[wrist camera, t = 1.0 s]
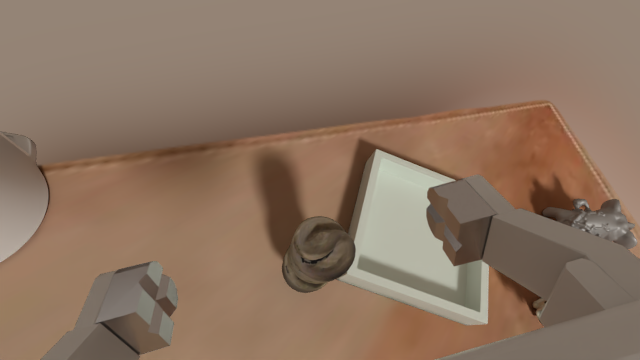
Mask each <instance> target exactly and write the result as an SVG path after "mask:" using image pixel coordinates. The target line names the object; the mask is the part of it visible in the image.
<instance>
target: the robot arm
mask: <svg viewBox="0 0 640 360" xmlns="http://www.w3.org/2000/svg"><path fill="white" fill-rule="evenodd" d="M48 197H49V196H48V187H47V183H46V181H45V178H44V176H43V175H42V173H41V172H40V170H39V168H38V166H37V164H36V146H35V143H34V142H33V141H32V140H30V139H29V138H28V137H25V136H22V135H17V134H12V133H6V132H1V131H0V262H2V261H3V260H5V259H6V258H8V257H9V256H11V255H12V254H13V253H15V252H16V251H17V250H18V249H20V248H21V247H22V246H23V245H24V244H25V243H26V242H27V241H28V240H29V239H30V238H31V236H32V235H33V234H34V233H35V231H36V230H37V229H38V227H39V225H40V224H41V222H42V220H43V218H44V215H45V213H46V210H47V206H48ZM427 199H428V200H429V201H430V205H429V206H428V207H427V208H426V217H427V221H428V225H429V228H430V230H431V232H432V233H433V235H434V237H435V238H437V239H439V240H441V241H443V248H442V249H443V251H444V252H445V254H446V255H447V257H448V258H449V260H450V261H451V263H452V264H453V266H458V265H462V264H466V263H470V262H474V261H478V260H482V261H483V262H484V263H486V264H488V265H489V266H491V267H493V268H494V269H496V270H497V271H499V272H501V273H502V274H504V275H506V276H507V277H509V278H510V279H512V280H514V281H515V282H517V283H518V284H520V285H522V286H523V287H525V288H527V289H528V290H530V291H531V292H533V293H535V294H536V295H538V296H540V297H541V298H543V299H544V300H546V301H547V302H546V304H545V306H544V308H543V310H542V312H541V314H540V317H539V321H540V322H541V323H542V324H543V326H544V328H541V329H538V330H534V331H531V332H527V333H524V334H521V335H517V336H514V337H510V338H507V339H503V340H500V341H497V342H493V343H490V344H486V345H483V346H480V347H476V348H473V349H469V350H466V351H462V352H459V353H456V354H452V355H449V356H445V357H442V358H439V359H435V360H640V259H639V258H637V257H636V256H635V255H634V254H632V253H631V252H630V251H629V250H628V249H626V248H625V247H624V246H623V245H620V244H617V243H614V242H612V241H609V240H606V239H603V238H601V237H598V236H595V235H593V234H590V233H587V232H584V231H582V230H579V229H576V228H573V227H571V226H568V225H565V224H562V223H560V222H557V221H554V220H551V219H549V218H546V217H543V216H541V215H538V214H535V213H532V212H530V211H527V210H524V209H517V210H516V209H515V208H514V207H513V206H512V205H511V204H510V203H509V202H508V201H507V200H506V199H505V198H504V197H503V196H502V195H501V194H500V193H499V192H498V191H497V190H496V189H495V188H494V187H493V186H492V185H490V184H489V183H488V182H487V181H486V180H485V179H484V178H483V177H482V176H481V175H474V176H470V177H467V178H463V179H461V180H456V181H452V182H449V183H445V184H441V185H438V186H434V187H430V188H429V189H428V191H427ZM162 270H163V268H162V266H161V265H160V264H159V263H158V262H157V261H152V262H148V263H144V264H139V265H135V266H131V267H127V268H123V269H119V270H116V271H112V272H107V273H103V274H100V275H99V276H98V277H97V278H96V279H95V280H94V283H93V285H92V287H91V290H90V292H89V295H88V297H87V299H86V302H85V304H84V306H83V309H82V311H81V313H80V316H79V318H78V320H77V323H76V325H75V328H74V330H72V331H69V332H67V333H66V334H65V335H64V336H63V337H62V338H61V339H60V340H59V341H58V342H57V343H56V344H55V345H54V346H53V347H52V348H51V349H50V350H49V351H48V352H47V353H46V354H45V355H44V356H43V357H42V358H41V359H40V360H138V359H139V358H140V356H139V355H141V354H145V353H148V352H151V351H154V350H158V349H161V348H164V347H167V346H170V343H171V338H172V332H173V326H174V322H173V321H172V319H171V318H170V316H171V315H172V314H173V312H174V311H175V310H176V308H177V301H178V296H177V288H176V286H175V284H174V282H173V280H172V279H171V278H170V277H168V276H165V275H163V274H162Z"/></svg>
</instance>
